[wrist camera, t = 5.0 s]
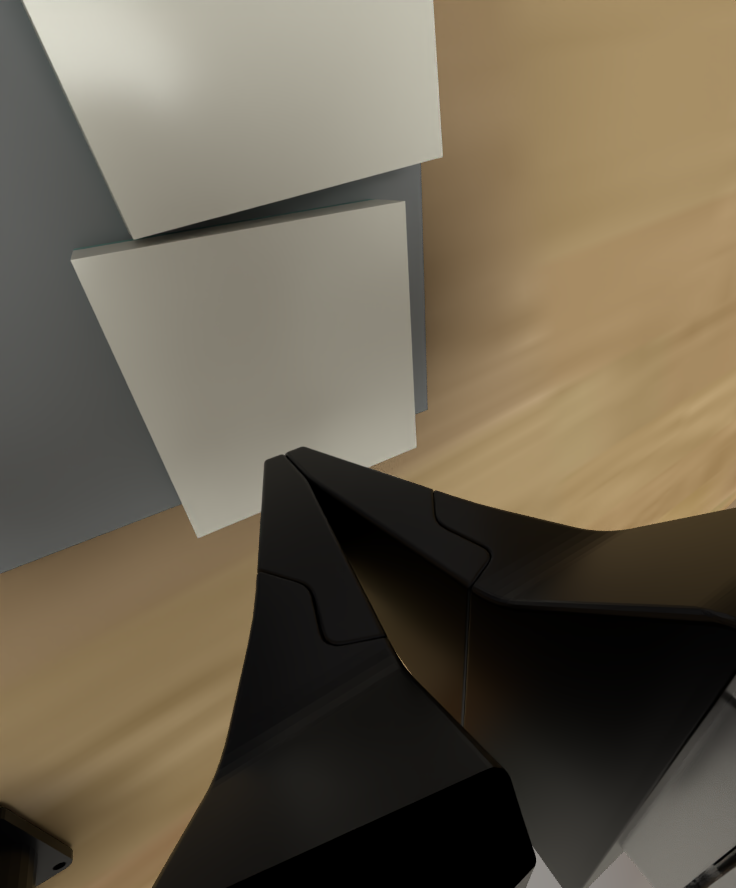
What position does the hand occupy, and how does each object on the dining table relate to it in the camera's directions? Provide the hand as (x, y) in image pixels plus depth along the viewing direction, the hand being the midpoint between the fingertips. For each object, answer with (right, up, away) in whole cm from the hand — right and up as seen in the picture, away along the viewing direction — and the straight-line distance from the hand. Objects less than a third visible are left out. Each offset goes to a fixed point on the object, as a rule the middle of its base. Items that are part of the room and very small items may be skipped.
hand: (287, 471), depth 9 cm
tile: (-4, +1, +3) cm, 5 cm away
